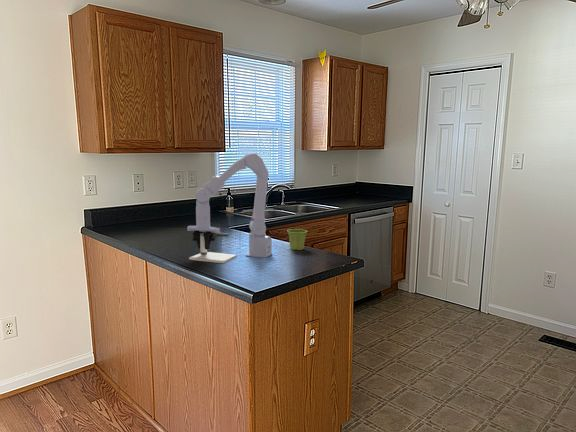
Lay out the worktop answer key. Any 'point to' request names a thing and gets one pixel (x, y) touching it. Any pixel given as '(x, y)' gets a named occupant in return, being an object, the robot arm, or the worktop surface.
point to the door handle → (216, 235)
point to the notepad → (213, 257)
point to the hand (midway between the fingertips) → (203, 248)
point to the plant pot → (297, 238)
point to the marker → (202, 245)
